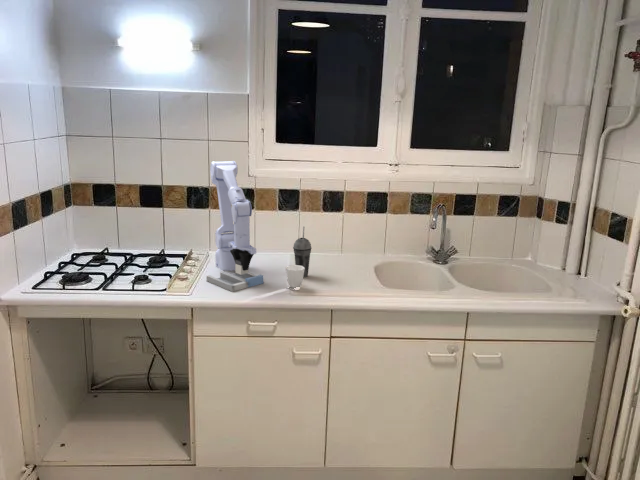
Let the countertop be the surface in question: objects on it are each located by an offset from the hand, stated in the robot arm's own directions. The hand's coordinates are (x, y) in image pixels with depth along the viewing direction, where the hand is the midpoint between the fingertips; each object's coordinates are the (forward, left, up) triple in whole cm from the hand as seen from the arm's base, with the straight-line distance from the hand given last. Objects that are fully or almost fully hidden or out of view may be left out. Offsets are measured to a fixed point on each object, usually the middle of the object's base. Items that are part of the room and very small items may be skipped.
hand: (242, 268), depth 201 cm
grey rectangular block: (0, 0, -2) cm, 2 cm away
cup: (+17, +12, -6) cm, 21 cm away
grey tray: (0, -3, -6) cm, 7 cm away
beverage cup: (+9, +23, -6) cm, 25 cm away
